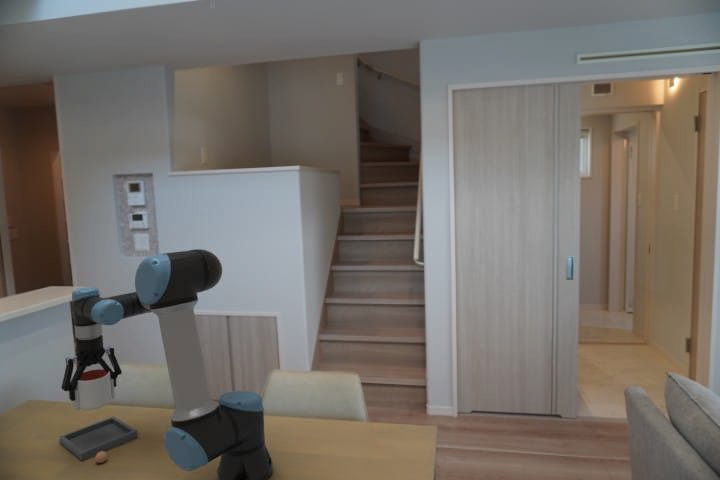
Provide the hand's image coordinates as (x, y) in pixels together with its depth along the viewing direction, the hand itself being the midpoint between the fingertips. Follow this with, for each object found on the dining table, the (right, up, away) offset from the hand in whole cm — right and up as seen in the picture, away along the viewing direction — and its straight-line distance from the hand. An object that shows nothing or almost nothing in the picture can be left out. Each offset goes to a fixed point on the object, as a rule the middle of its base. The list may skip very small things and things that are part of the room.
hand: (94, 403), depth 155 cm
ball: (+9, -14, -12) cm, 20 cm away
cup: (0, -1, 0) cm, 1 cm away
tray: (+1, -13, +1) cm, 13 cm away
